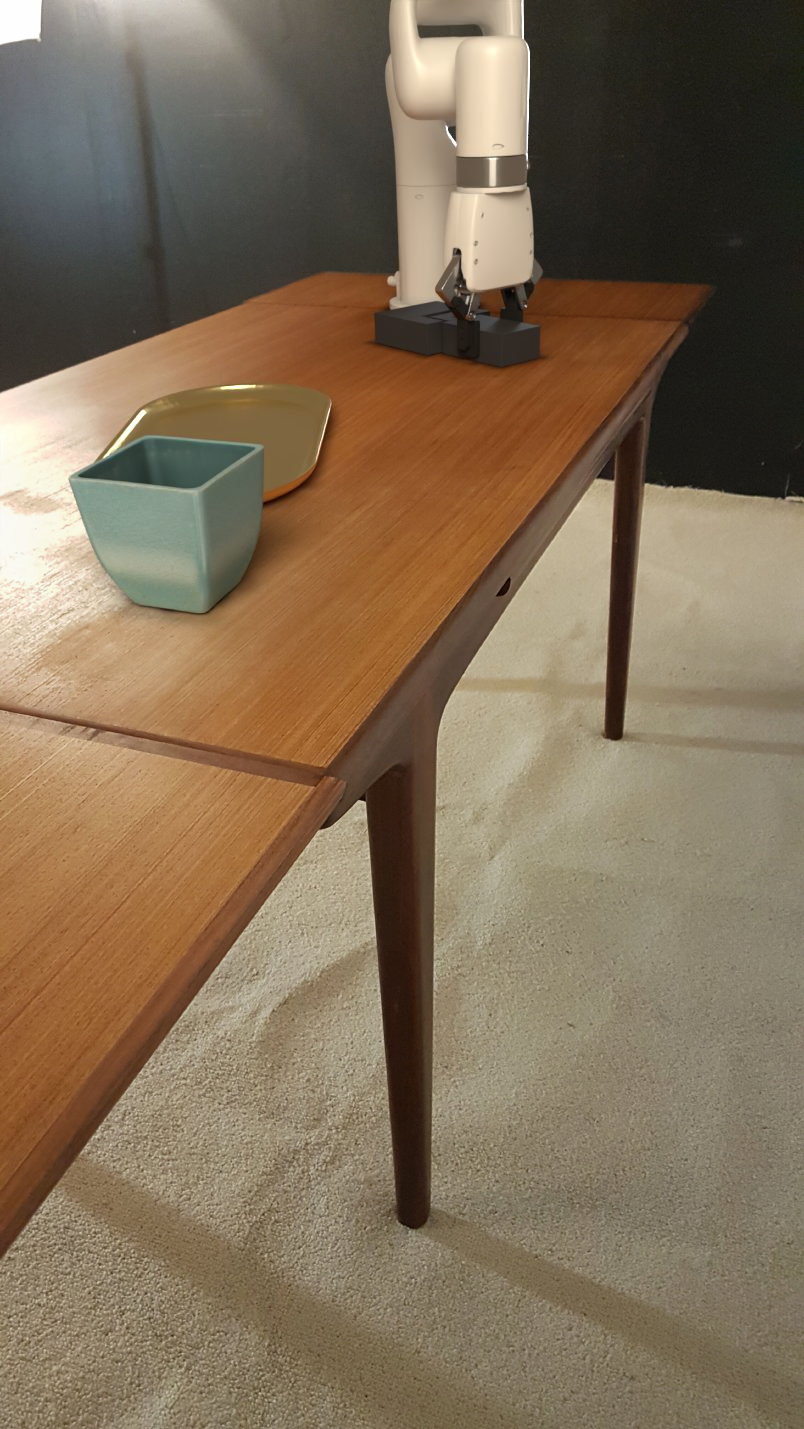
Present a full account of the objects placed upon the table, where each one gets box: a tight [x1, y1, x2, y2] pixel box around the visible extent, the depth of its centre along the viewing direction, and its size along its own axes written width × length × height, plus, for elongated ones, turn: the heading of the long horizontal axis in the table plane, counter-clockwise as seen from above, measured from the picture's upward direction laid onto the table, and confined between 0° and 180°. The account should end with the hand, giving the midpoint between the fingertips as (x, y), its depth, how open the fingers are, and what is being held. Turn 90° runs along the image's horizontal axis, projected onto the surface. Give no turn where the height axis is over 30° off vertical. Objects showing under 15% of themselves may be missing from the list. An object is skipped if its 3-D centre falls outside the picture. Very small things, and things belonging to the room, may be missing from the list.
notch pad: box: [373, 301, 491, 356], centre depth 125 cm, size 10×10×4 cm
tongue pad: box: [430, 312, 541, 368], centre depth 119 cm, size 14×6×4 cm, turn 39°
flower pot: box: [67, 435, 264, 614], centre depth 64 cm, size 9×9×9 cm
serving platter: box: [94, 382, 332, 504], centre depth 91 cm, size 19×35×2 cm, turn 179°
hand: (489, 348), depth 118 cm, fingers closed on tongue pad, 6 cm apart
